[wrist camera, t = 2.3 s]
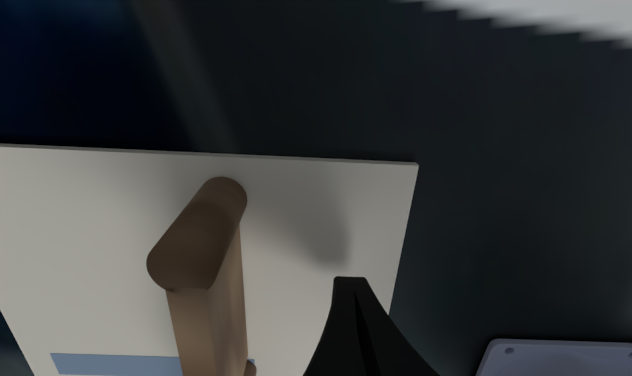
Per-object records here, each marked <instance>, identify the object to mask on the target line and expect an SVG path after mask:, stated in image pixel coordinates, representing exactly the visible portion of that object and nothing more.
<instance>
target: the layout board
mask: <svg viewBox="0 0 632 376" xmlns="http://www.w3.org/2000/svg"><path fill="white" fill-rule="evenodd" d="M418 168H419V165H418V164H417V163H416V162H397V161H375V160H353V159H331V158H309V157H287V156H265V155H243V154H221V153H199V152H177V151H155V150H133V149H111V148H89V147H67V146H45V145H23V144H1V143H0V310H1V312H2V314H3V316H4V318H5V320H6V322H7V324H8V326H9V327H10V329H11V331H12V333H13V335H14V337H15V339H16V341H17V343H18V345H19V347H20V348H21V350H22V352H23V354H24V356H25V358H26V360H27V362H28V364H29V366H30V367H31V369H32V371H33V373H34V375H35V376H183V373H182V369H181V364H180V359H179V354H178V349H177V345H176V340H175V335H174V330H173V325H172V320H171V316H170V311H169V306H168V301H167V296H166V292H165V290H164V289H163V288H161V287H160V286H158V285H157V284H156V283H155V282H154V281H153V280H152V278H151V277H150V275H149V273H148V271H147V267H146V260H147V256H148V254H149V252H150V251H151V250H152V248H153V247H154V246H155V245H156V243H157V242H158V241H159V240H160V238H161V237H162V236H163V234H164V233H165V232H166V231H167V229H168V228H169V227H170V226H171V224H172V223H173V222H174V221H175V219H176V218H177V217H178V216H179V214H180V213H181V212H182V210H183V209H184V208H185V207H186V205H187V204H188V203H189V202H190V200H191V199H192V198H193V197H194V195H195V194H196V193H197V192H198V190H199V189H200V188H201V187H202V185H203V184H204V183H205V182H206V181H207V180H209V179H211V178H214V177H227V178H230V179H233V180H235V181H236V182H238V183H239V184H240V185H241V186H242V187H243V189H244V190H245V192H246V195H247V206H246V209H245V211H244V213H243V216H242V218H241V221H240V223H239V224H240V239H241V254H242V269H243V284H244V299H245V315H246V330H247V345H248V357H247V360H249V361H251V362H252V363H253V364H254V365H255V366H256V368H257V372H256V376H303V374H304V372H305V370H306V368H307V366H308V365H309V362H310V360H311V358H312V356H313V354H314V352H315V350H316V347H317V345H318V343H319V340H320V338H321V335H322V333H323V330H324V327H325V324H326V321H327V318H328V315H329V311H330V307H331V301H332V291H333V280H334V278H335V277H336V276H346V277H365V278H366V279H367V281H368V283H369V285H370V287H371V288H372V290H373V292H374V294H375V295H376V297H377V299H378V300H379V302H380V303H381V305H382V307H383V308H384V310H385V311H386V313H387V314H388V315H389V310H390V305H391V300H392V295H393V290H394V285H395V280H396V275H397V270H398V266H399V261H400V256H401V251H402V246H403V241H404V236H405V231H406V226H407V221H408V217H409V212H410V207H411V202H412V197H413V192H414V187H415V182H416V177H417V172H418Z"/></svg>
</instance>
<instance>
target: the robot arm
mask: <svg viewBox="0 0 632 376" xmlns="http://www.w3.org/2000/svg"><path fill="white" fill-rule="evenodd" d="M303 376H440V375H439V374H438V373H437V372H436V371H434V370H433V369H432V368H431V367H430V366H429V365H428V363H427V362H426V361H425V360H424V359H423V358H422V357H421V356H420V355H419V354H418V353H417V352H416V350H415V349H414V348H413V347H412V346H411V345H410V343H409V342H408V341H407V340H406V338H405V337H404V336H403V335H402V333H401V332H400V331H399V329H398V328H397V327H396V325H395V324H394V323H393V321H392V320H391V319H390V317H389V316H388V314H387V313H386V311H385V310H384V308H383V307H382V305H381V303H380V302H379V300H378V299H377V297H376V295H375V294H374V292H373V290H372V288H371V287H370V285H369V283H368V281H367V279H366V278H365V277H346V276H336V277H335V278H334V280H333V291H332V301H331V307H330V311H329V315H328V318H327V321H326V324H325V327H324V330H323V333H322V335H321V338H320V340H319V343H318V345H317V347H316V350H315V352H314V354H313V356H312V358H311V360H310V362H309V365H308V366H307V368H306V370H305V372H304V374H303ZM476 376H632V343H619V342H588V341H557V340H526V339H494V340H492V341H491V342H490V343H489V344H488V347H487V349H486V352H485V354H484V356H483V359H482V361H481V364H480V366H479V368H478V371H477V373H476Z"/></svg>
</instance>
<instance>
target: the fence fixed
mask: <svg viewBox="0 0 632 376" xmlns="http://www.w3.org/2000/svg"><path fill="white" fill-rule="evenodd" d="M256 372H257V368H256V366H255V365H254V364H253V363H252V362H251V361H249V360H247V362H246V367H245V371H244V376H256Z"/></svg>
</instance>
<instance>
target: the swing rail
mask: <svg viewBox="0 0 632 376" xmlns="http://www.w3.org/2000/svg"><path fill="white" fill-rule="evenodd" d="M246 206H247V195H246V192H245V190H244V189H243V187H242V186H241V185H240V184H239V183H238V182H236V181H235V180H233V179H230V178H227V177H214V178H211V179H209V180H207V181H206V182H205V183H204V184H203V185H202V187H201V188H200V189H199V190H198V192H197V193H196V194H195V195H194V197H193V198H192V199H191V200H190V202H189V203H188V204H187V205H186V207H185V208H184V209H183V210H182V212H181V213H180V214H179V216H178V217H177V218H176V219H175V221H174V222H173V223H172V224H171V226H170V227H169V228H168V229H167V231H166V232H165V233H164V234H163V236H162V237H161V238H160V240H159V241H158V242H157V243H156V245H155V246H154V247H153V248H152V250H151V251H150V252H149V254H148V256H147V260H146V267H147V271H148V273H149V275H150V277H151V278H152V280H153V281H154V282H155V283H156V284H157V285H158V286H160V287H161V288H163V289H164V290H165V292H166V296H167V301H168V306H169V311H170V316H171V320H172V325H173V330H174V335H175V340H176V345H177V349H178V354H179V359H180V364H181V369H182V373H183V376H244V371H245V367H246V362H247V357H248V345H247V330H246V315H245V299H244V284H243V269H242V254H241V239H240V224H239V223H240V221H241V218H242V216H243V213H244V211H245V209H246Z"/></svg>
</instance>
